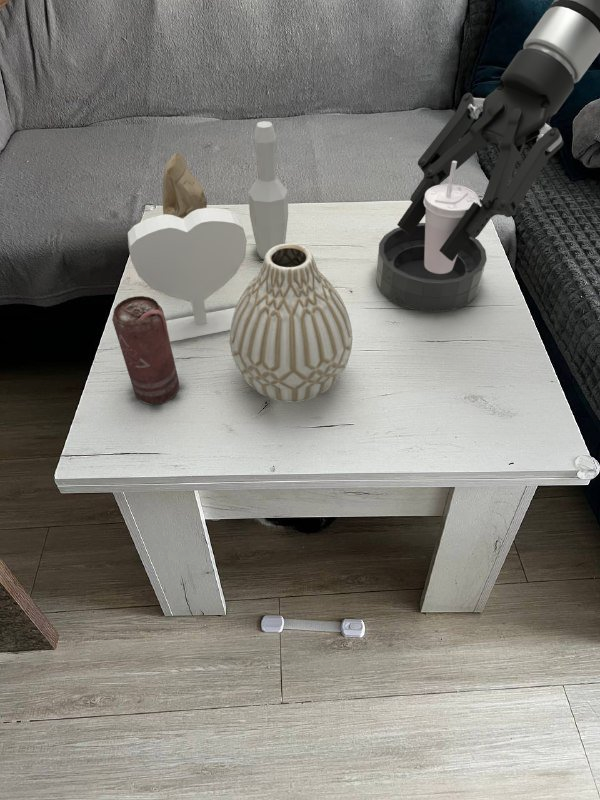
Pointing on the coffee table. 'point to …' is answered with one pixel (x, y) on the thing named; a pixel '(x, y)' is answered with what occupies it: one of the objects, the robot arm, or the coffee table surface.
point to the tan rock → (181, 189)
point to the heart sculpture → (190, 263)
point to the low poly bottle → (267, 194)
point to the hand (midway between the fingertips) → (424, 242)
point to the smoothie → (444, 219)
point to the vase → (290, 328)
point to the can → (146, 349)
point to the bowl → (427, 273)
